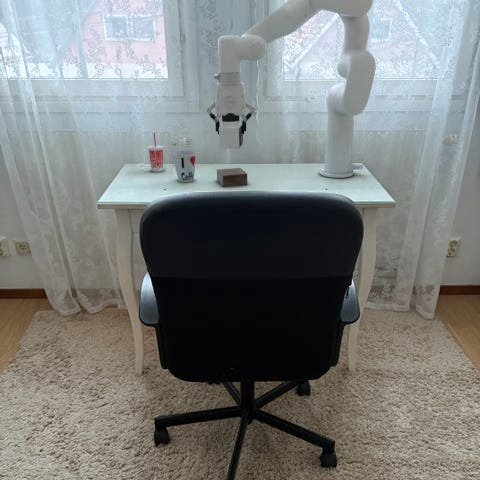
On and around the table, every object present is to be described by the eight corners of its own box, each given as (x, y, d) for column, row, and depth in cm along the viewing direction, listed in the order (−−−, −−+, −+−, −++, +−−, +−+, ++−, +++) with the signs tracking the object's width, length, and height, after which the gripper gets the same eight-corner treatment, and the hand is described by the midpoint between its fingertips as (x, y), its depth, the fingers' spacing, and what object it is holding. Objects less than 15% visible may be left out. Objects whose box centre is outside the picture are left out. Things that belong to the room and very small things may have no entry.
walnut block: (240, 178, 192) (240, 167, 190) (247, 184, 185) (247, 173, 183) (216, 180, 190) (216, 169, 188) (223, 187, 183) (222, 175, 181)
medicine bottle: (239, 149, 178) (238, 112, 172) (219, 148, 179) (217, 112, 173) (243, 144, 184) (242, 108, 178) (223, 144, 185) (222, 108, 179)
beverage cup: (166, 168, 206) (163, 131, 199) (164, 172, 201) (161, 134, 194) (150, 168, 206) (147, 131, 199) (148, 172, 201) (145, 134, 194)
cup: (179, 184, 186) (178, 156, 181) (171, 179, 192) (169, 151, 187) (200, 181, 189) (199, 153, 184) (191, 176, 196) (190, 149, 191)
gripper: (203, 79, 167) (205, 136, 176) (256, 79, 167) (256, 135, 176) (204, 77, 173) (206, 132, 182) (255, 76, 174) (255, 131, 182)
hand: (231, 133), depth 179 cm, fingers closed on medicine bottle, 8 cm apart
